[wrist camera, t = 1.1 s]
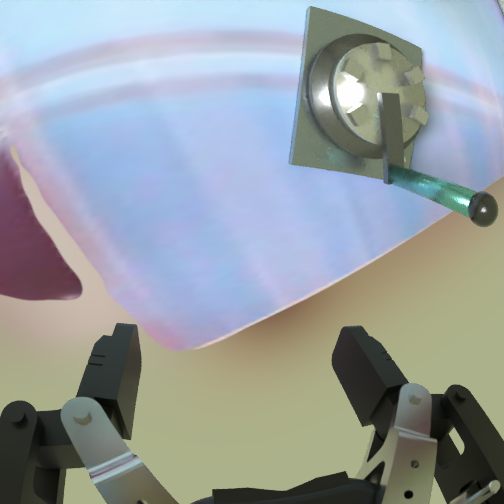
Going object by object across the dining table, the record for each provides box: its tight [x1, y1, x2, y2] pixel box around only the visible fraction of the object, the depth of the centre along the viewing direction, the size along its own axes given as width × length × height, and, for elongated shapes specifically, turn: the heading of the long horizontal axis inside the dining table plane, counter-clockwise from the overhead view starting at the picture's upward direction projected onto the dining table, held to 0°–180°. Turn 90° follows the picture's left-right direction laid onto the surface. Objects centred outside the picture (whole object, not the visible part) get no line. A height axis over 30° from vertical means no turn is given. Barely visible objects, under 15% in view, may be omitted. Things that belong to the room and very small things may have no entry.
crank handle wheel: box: [328, 42, 498, 227], centre depth 23 cm, size 18×13×19 cm
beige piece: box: [498, 0, 504, 15], centre depth 24 cm, size 5×7×25 cm
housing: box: [289, 6, 421, 180], centre depth 32 cm, size 22×18×4 cm
